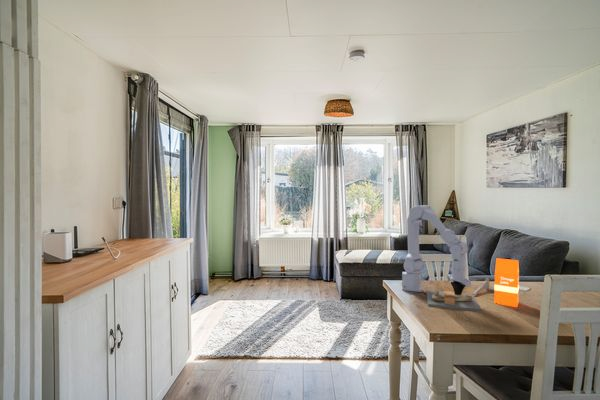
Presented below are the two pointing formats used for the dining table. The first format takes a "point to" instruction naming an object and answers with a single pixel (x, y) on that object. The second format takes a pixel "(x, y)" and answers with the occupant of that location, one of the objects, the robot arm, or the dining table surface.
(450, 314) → the dining table surface
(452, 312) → the dining table surface
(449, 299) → the keeper board
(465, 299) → the link
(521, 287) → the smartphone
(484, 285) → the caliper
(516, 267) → the orange juice
